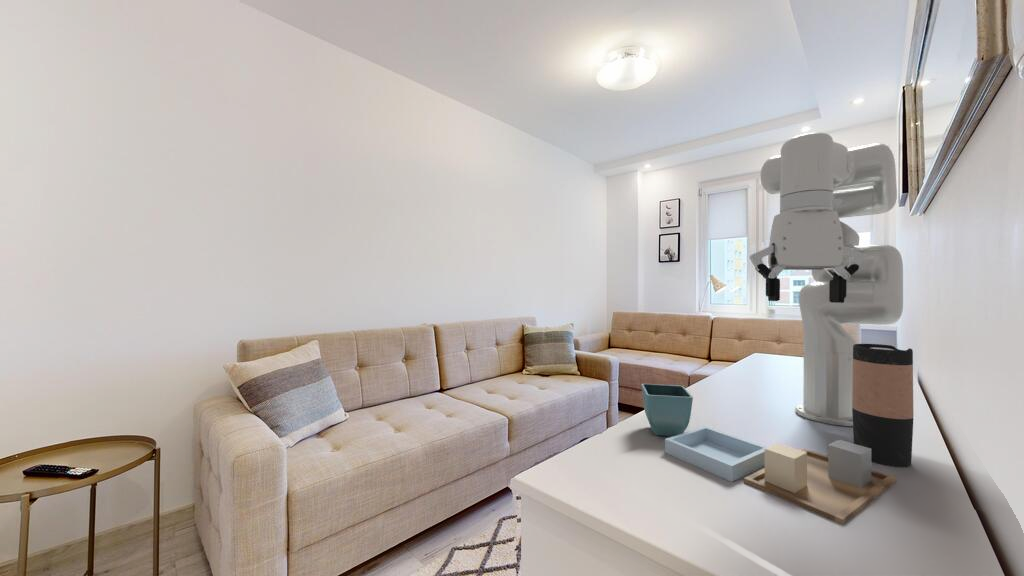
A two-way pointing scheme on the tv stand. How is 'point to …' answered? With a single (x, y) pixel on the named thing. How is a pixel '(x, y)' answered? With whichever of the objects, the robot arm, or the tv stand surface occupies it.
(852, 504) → the walnut tray
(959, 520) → the tv stand surface
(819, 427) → the tv stand surface
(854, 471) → the gray block
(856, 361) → the travel mug
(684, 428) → the flower pot
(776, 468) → the cream rectangular block
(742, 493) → the tv stand surface
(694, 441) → the light blue tray
